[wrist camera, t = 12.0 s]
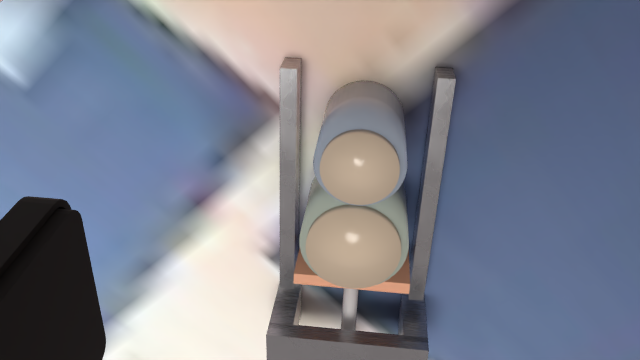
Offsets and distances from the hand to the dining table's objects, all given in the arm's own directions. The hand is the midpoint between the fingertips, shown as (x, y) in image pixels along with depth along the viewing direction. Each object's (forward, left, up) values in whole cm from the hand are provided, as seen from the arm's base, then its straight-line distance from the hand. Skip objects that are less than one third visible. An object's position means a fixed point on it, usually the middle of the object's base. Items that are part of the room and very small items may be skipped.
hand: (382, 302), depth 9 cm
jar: (+9, -1, -28) cm, 29 cm away
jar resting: (+14, -1, -28) cm, 31 cm away
